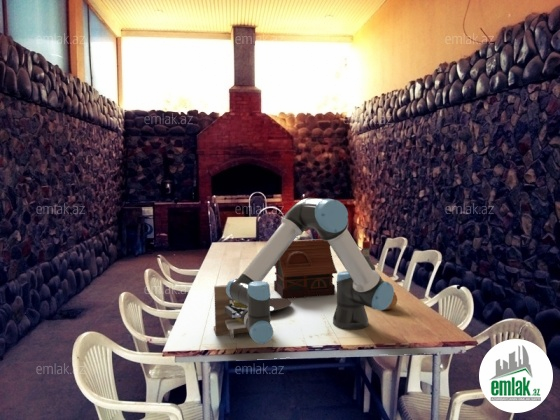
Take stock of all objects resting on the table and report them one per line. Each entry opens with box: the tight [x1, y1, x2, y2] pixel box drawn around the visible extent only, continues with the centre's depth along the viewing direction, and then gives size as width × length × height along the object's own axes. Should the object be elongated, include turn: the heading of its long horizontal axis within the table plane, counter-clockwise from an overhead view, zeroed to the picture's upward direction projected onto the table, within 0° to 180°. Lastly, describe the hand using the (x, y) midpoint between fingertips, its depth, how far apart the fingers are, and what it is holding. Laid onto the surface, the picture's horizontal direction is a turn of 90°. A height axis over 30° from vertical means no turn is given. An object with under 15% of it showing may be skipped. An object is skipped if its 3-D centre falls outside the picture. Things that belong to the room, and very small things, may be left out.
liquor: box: [362, 240, 376, 271], centre depth 230 cm, size 9×9×30 cm
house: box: [273, 238, 338, 300], centre depth 245 cm, size 35×28×29 cm
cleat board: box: [213, 284, 249, 339], centre depth 184 cm, size 15×22×20 cm
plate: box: [270, 297, 292, 313], centre depth 216 cm, size 28×28×4 cm
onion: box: [383, 291, 398, 311], centre depth 213 cm, size 10×10×10 cm
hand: (242, 302), depth 183 cm, fingers closed on flower pot, 9 cm apart
